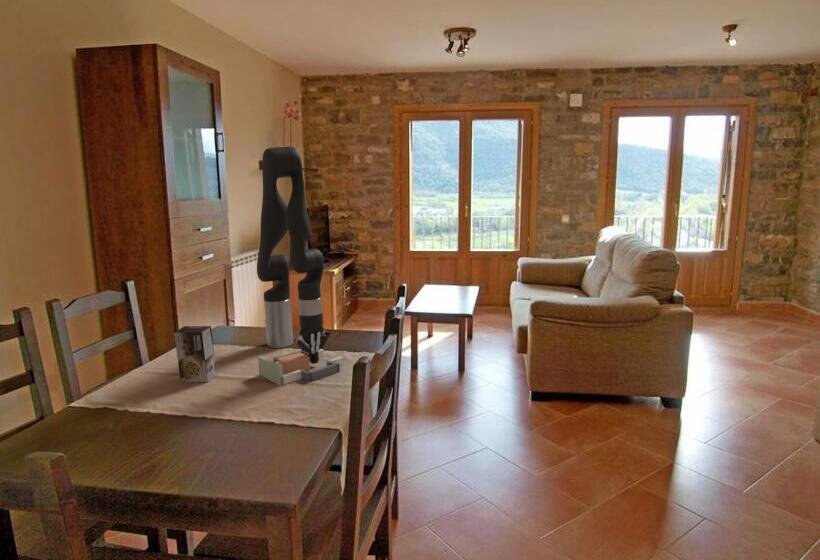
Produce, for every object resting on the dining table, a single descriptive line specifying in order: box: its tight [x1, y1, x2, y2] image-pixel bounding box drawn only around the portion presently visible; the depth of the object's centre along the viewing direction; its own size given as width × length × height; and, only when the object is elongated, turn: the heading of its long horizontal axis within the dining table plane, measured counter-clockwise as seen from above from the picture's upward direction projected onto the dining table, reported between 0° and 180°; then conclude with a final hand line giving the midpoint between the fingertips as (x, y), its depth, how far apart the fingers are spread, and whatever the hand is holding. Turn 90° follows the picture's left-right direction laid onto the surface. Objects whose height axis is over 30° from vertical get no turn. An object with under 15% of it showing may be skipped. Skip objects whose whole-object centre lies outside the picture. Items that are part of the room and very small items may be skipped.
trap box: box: [257, 348, 345, 387], centre depth 170 cm, size 20×24×6 cm
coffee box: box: [173, 325, 217, 383], centre depth 164 cm, size 9×6×16 cm
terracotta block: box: [278, 352, 311, 375], centre depth 170 cm, size 6×8×4 cm
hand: (314, 363), depth 173 cm, fingers closed
